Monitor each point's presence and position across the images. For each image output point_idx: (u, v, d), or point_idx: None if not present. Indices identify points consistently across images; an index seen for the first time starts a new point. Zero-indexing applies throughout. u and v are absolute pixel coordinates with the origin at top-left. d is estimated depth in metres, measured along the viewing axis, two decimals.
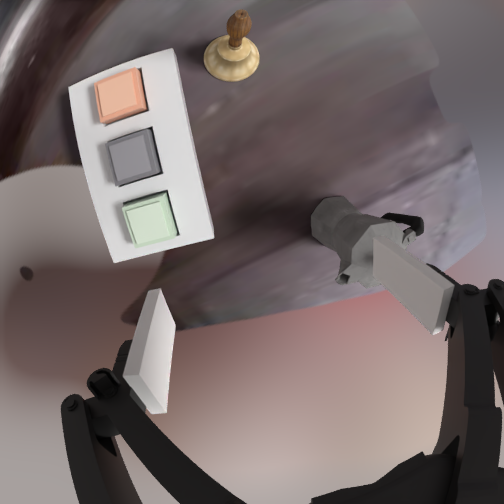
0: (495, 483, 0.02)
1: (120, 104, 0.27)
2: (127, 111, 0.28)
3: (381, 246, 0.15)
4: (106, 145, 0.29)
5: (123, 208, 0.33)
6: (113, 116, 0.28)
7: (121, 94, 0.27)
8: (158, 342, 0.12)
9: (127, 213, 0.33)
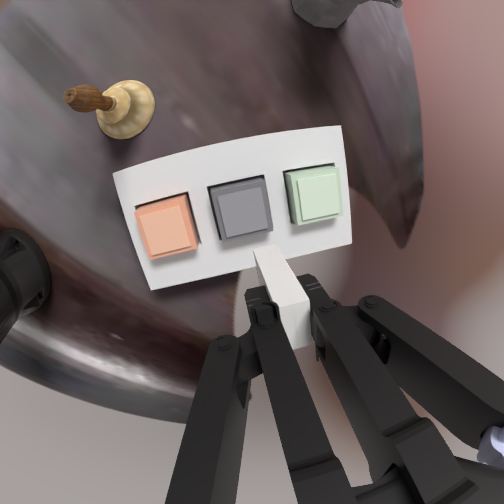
0: (495, 483, 0.02)
1: (178, 225, 0.30)
2: (187, 216, 0.30)
3: (267, 255, 0.16)
4: (224, 240, 0.31)
5: (299, 223, 0.32)
6: (191, 233, 0.30)
7: (166, 225, 0.29)
8: None
9: (305, 219, 0.32)
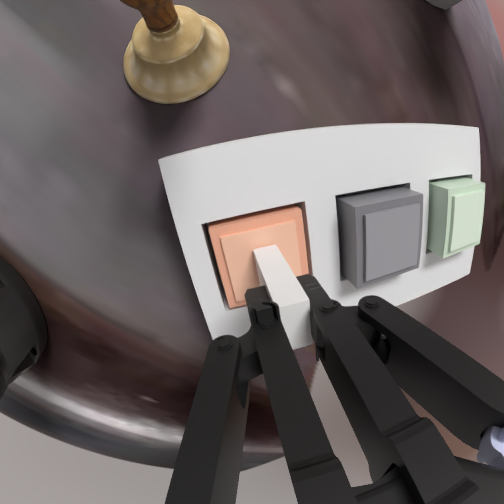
0: (495, 483, 0.02)
1: (288, 254, 0.18)
2: (302, 238, 0.18)
3: (267, 255, 0.16)
4: (360, 285, 0.18)
5: (444, 255, 0.19)
6: (305, 265, 0.19)
7: None
8: None
9: (452, 250, 0.19)
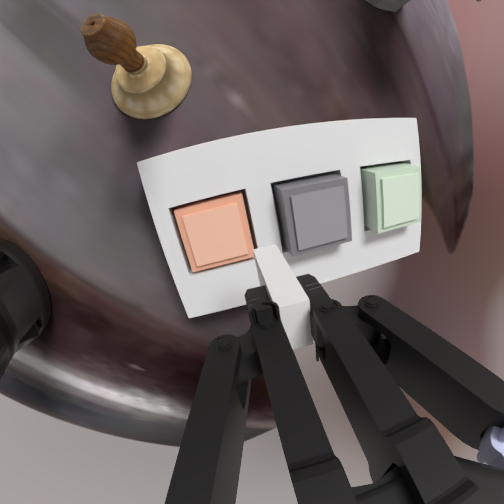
0: (495, 483, 0.02)
1: (234, 228, 0.24)
2: (245, 216, 0.24)
3: (267, 255, 0.16)
4: (295, 254, 0.24)
5: (379, 231, 0.25)
6: (249, 237, 0.25)
7: (217, 227, 0.24)
8: None
9: (386, 226, 0.24)
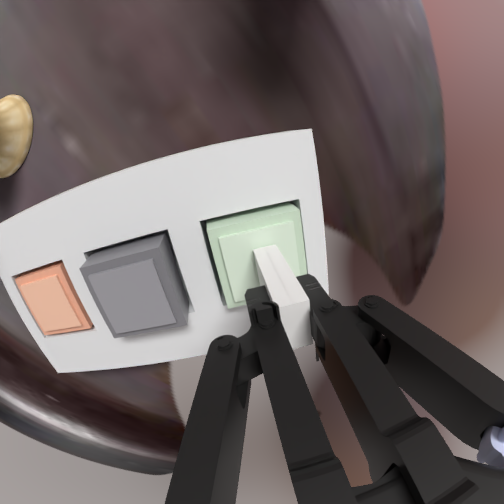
0: (495, 483, 0.02)
1: (60, 300, 0.18)
2: (68, 288, 0.18)
3: (267, 255, 0.16)
4: (116, 336, 0.18)
5: (229, 305, 0.19)
6: (79, 309, 0.19)
7: (47, 298, 0.17)
8: None
9: (240, 300, 0.19)
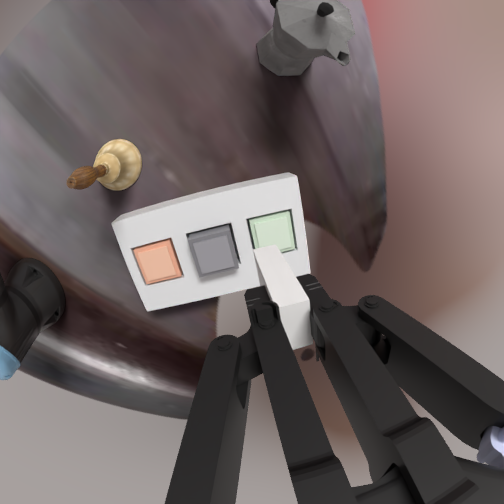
0: (495, 483, 0.02)
1: (166, 260, 0.40)
2: (172, 253, 0.40)
3: (267, 255, 0.16)
4: (201, 276, 0.40)
5: None
6: (176, 265, 0.41)
7: (157, 259, 0.39)
8: None
9: None
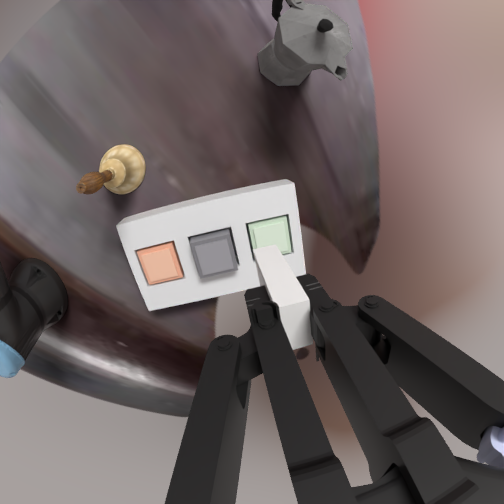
0: (495, 483, 0.02)
1: (168, 261, 0.42)
2: (174, 255, 0.42)
3: (267, 255, 0.16)
4: (202, 277, 0.42)
5: None
6: (178, 266, 0.42)
7: (160, 261, 0.41)
8: None
9: None
